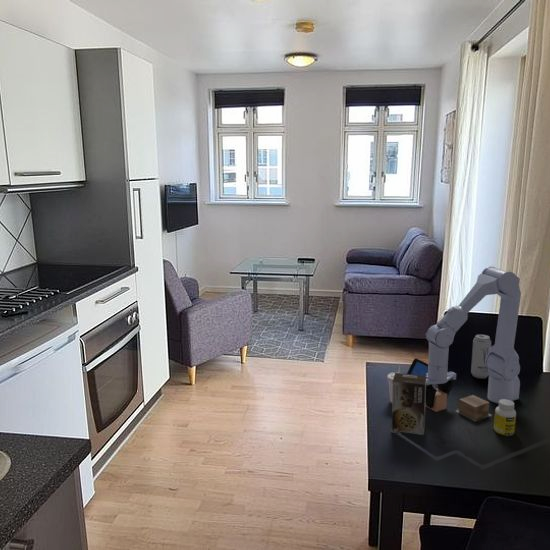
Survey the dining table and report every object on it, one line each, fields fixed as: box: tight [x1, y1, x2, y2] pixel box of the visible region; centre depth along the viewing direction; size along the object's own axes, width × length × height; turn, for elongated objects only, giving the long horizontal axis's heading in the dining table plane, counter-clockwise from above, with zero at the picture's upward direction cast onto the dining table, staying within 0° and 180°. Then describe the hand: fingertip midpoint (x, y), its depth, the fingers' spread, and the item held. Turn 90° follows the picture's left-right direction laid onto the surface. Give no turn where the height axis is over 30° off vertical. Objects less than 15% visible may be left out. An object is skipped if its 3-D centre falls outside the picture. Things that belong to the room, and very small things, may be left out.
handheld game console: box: [406, 358, 428, 376], centre depth 174 cm, size 12×11×7 cm
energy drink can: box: [470, 333, 492, 379], centre depth 180 cm, size 6×6×15 cm
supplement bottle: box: [493, 399, 517, 437], centre depth 140 cm, size 5×5×10 cm
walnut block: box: [458, 394, 490, 420], centre depth 152 cm, size 6×6×4 cm
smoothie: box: [386, 362, 404, 404], centre depth 159 cm, size 6×6×14 cm
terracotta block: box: [425, 388, 448, 413], centre depth 156 cm, size 4×4×5 cm
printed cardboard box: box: [391, 372, 426, 436], centre depth 143 cm, size 9×6×16 cm
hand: (435, 404), depth 156 cm, fingers open, 5 cm apart
